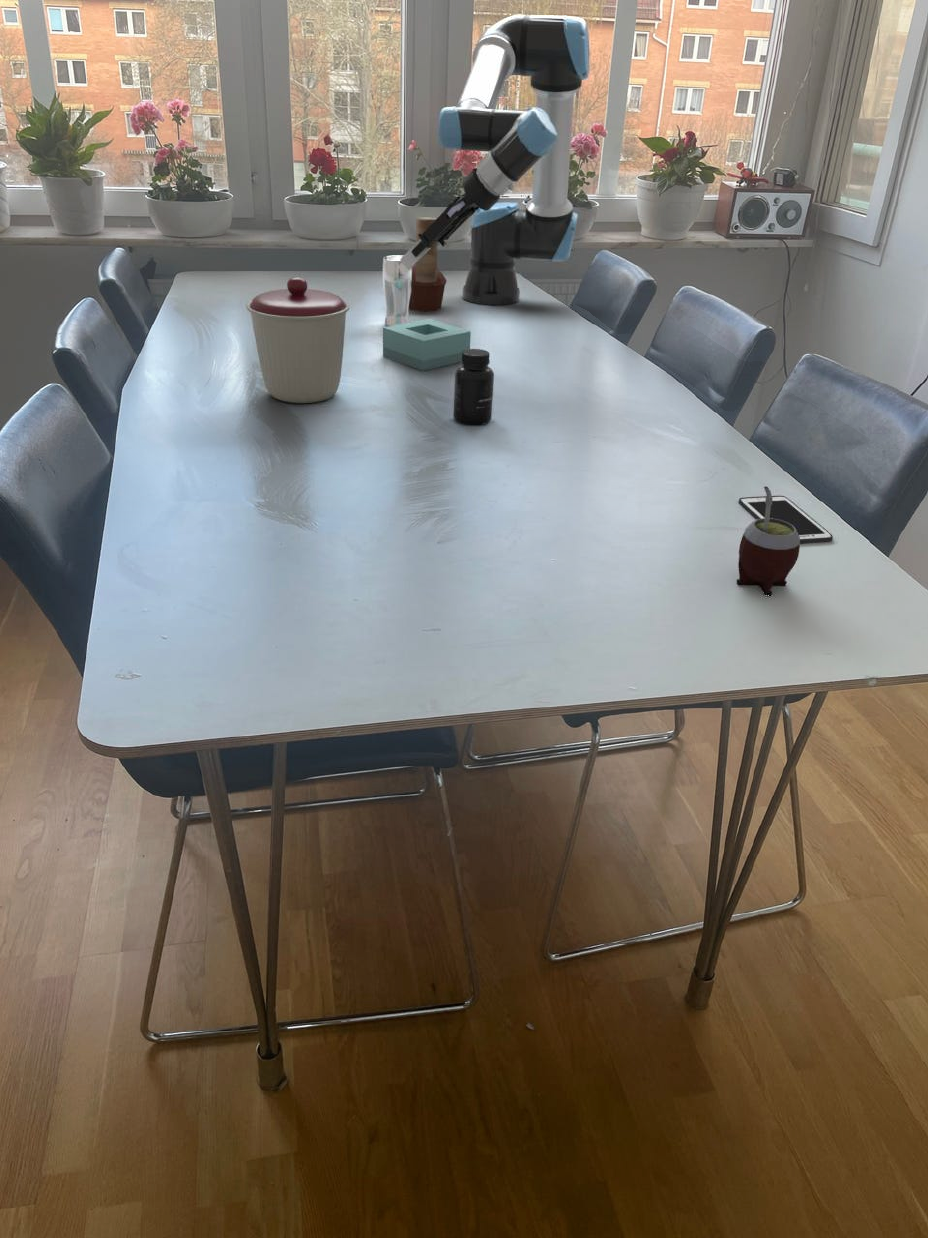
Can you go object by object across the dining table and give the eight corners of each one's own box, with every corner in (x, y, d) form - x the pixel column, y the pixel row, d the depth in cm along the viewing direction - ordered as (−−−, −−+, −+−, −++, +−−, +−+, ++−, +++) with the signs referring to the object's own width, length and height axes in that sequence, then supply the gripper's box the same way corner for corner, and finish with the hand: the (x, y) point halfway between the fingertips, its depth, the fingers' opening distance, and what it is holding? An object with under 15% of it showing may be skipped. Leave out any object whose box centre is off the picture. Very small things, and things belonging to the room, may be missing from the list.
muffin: (394, 303, 242) (394, 262, 237) (434, 300, 246) (435, 260, 241) (412, 313, 233) (412, 271, 228) (453, 311, 237) (454, 269, 232)
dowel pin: (427, 277, 200) (428, 216, 194) (440, 281, 198) (442, 219, 192) (411, 279, 198) (411, 218, 192) (425, 283, 195) (425, 220, 189)
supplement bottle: (487, 427, 164) (491, 359, 158) (449, 423, 165) (451, 355, 159) (494, 415, 170) (498, 348, 164) (457, 411, 171) (459, 345, 165)
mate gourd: (779, 571, 122) (805, 462, 114) (800, 602, 115) (829, 488, 108) (722, 570, 122) (745, 460, 114) (740, 601, 115) (764, 486, 107)
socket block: (428, 346, 208) (429, 318, 205) (469, 359, 200) (470, 331, 197) (382, 355, 200) (382, 327, 197) (423, 370, 192) (423, 340, 189)
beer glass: (411, 329, 220) (411, 261, 212) (381, 327, 220) (380, 260, 212) (413, 321, 226) (413, 255, 218) (384, 320, 226) (383, 254, 218)
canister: (333, 415, 167) (329, 292, 156) (237, 405, 170) (226, 283, 159) (363, 385, 182) (361, 271, 171) (275, 376, 185) (267, 263, 174)
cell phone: (782, 500, 143) (784, 494, 142) (834, 543, 131) (836, 537, 130) (735, 503, 141) (736, 497, 141) (783, 547, 129) (784, 540, 129)
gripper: (486, 202, 178) (404, 284, 191) (513, 193, 192) (436, 270, 205) (461, 169, 176) (380, 253, 189) (490, 162, 191) (414, 242, 204)
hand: (409, 262), depth 197 cm, fingers closed on dowel pin, 4 cm apart
